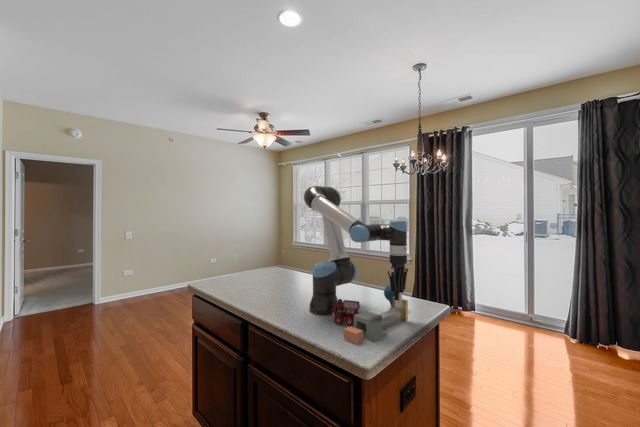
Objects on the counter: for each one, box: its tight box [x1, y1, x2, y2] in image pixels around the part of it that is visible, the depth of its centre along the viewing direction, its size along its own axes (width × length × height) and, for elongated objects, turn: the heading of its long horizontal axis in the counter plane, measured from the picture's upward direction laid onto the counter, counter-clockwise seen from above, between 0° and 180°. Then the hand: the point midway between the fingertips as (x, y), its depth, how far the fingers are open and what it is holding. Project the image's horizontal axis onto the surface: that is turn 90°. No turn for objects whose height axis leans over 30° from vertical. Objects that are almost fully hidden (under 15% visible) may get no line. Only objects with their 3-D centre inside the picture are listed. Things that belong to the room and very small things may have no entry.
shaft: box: [363, 297, 409, 333], centre depth 121 cm, size 24×7×9 cm, turn 131°
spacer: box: [343, 326, 364, 345], centre depth 108 cm, size 4×6×4 cm
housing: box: [353, 310, 388, 342], centre depth 114 cm, size 8×13×7 cm, turn 41°
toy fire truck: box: [331, 298, 360, 327], centre depth 125 cm, size 7×12×10 cm, turn 65°
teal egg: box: [383, 284, 395, 309], centre depth 144 cm, size 8×8×12 cm
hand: (398, 306), depth 128 cm, fingers closed
